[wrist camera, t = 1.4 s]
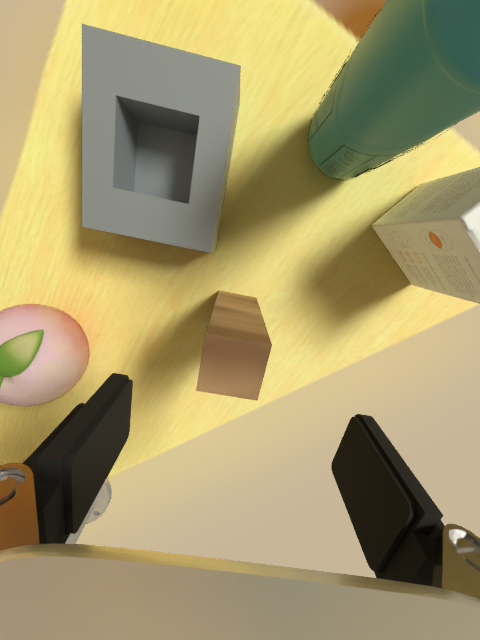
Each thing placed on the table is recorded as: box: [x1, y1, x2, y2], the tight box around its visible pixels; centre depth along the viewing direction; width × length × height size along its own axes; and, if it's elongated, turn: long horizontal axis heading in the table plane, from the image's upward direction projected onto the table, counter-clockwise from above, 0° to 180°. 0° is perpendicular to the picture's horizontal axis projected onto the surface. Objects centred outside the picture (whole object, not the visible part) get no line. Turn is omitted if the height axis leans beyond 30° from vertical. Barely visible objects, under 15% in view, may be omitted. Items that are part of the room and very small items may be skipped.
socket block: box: [82, 24, 241, 253], centre depth 20 cm, size 12×10×5 cm
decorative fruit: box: [0, 304, 89, 406], centre depth 23 cm, size 9×8×10 cm
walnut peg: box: [196, 291, 272, 400], centre depth 21 cm, size 4×4×12 cm
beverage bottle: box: [308, 0, 480, 180], centre depth 13 cm, size 6×7×20 cm
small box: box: [372, 167, 480, 304], centre depth 20 cm, size 8×6×10 cm
